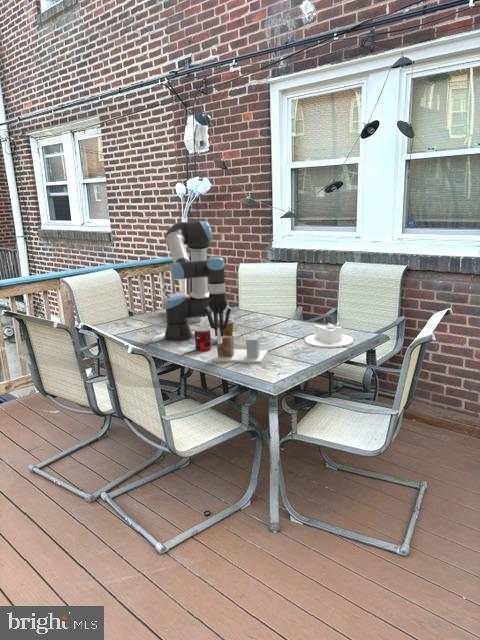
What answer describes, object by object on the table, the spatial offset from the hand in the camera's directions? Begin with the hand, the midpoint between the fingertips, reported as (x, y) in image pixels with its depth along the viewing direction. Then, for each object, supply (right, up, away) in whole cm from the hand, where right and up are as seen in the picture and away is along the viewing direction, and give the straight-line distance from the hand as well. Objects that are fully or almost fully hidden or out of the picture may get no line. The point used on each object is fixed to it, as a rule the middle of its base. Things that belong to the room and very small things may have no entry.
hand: (220, 343), depth 212 cm
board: (+9, -7, +12) cm, 17 cm away
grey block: (+16, -7, +8) cm, 19 cm away
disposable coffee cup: (+2, -1, +41) cm, 42 cm away
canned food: (-10, -5, +26) cm, 29 cm away
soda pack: (-28, +12, +98) cm, 103 cm away
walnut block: (+2, -7, +10) cm, 12 cm away
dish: (+56, -1, +31) cm, 64 cm away
